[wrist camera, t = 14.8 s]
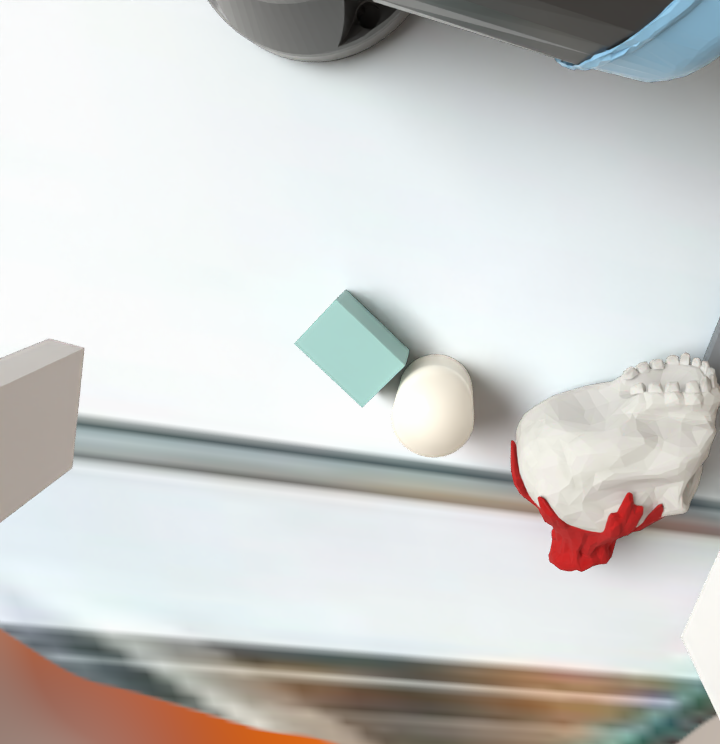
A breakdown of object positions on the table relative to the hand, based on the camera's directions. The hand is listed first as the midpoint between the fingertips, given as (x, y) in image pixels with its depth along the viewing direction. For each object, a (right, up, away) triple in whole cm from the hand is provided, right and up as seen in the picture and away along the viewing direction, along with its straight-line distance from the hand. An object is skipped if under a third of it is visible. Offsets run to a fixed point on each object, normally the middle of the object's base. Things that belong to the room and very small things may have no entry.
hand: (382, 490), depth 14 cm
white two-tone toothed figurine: (+15, -2, +33) cm, 37 cm away
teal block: (-1, +5, +33) cm, 34 cm away
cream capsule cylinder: (+5, +1, +33) cm, 34 cm away
